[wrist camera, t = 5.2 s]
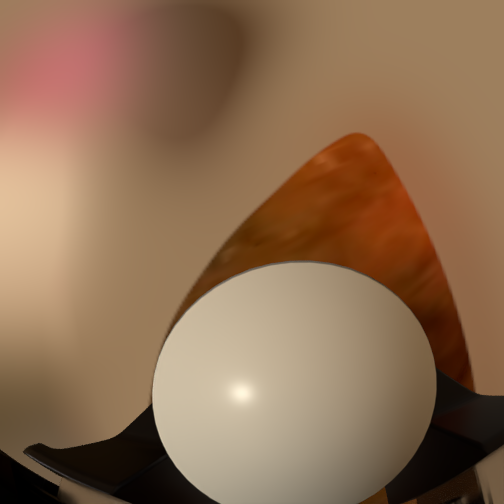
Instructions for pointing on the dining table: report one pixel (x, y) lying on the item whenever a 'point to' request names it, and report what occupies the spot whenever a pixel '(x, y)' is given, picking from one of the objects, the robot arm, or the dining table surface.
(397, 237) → the dining table surface
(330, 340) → the plug
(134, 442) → the robot arm
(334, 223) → the dining table surface
